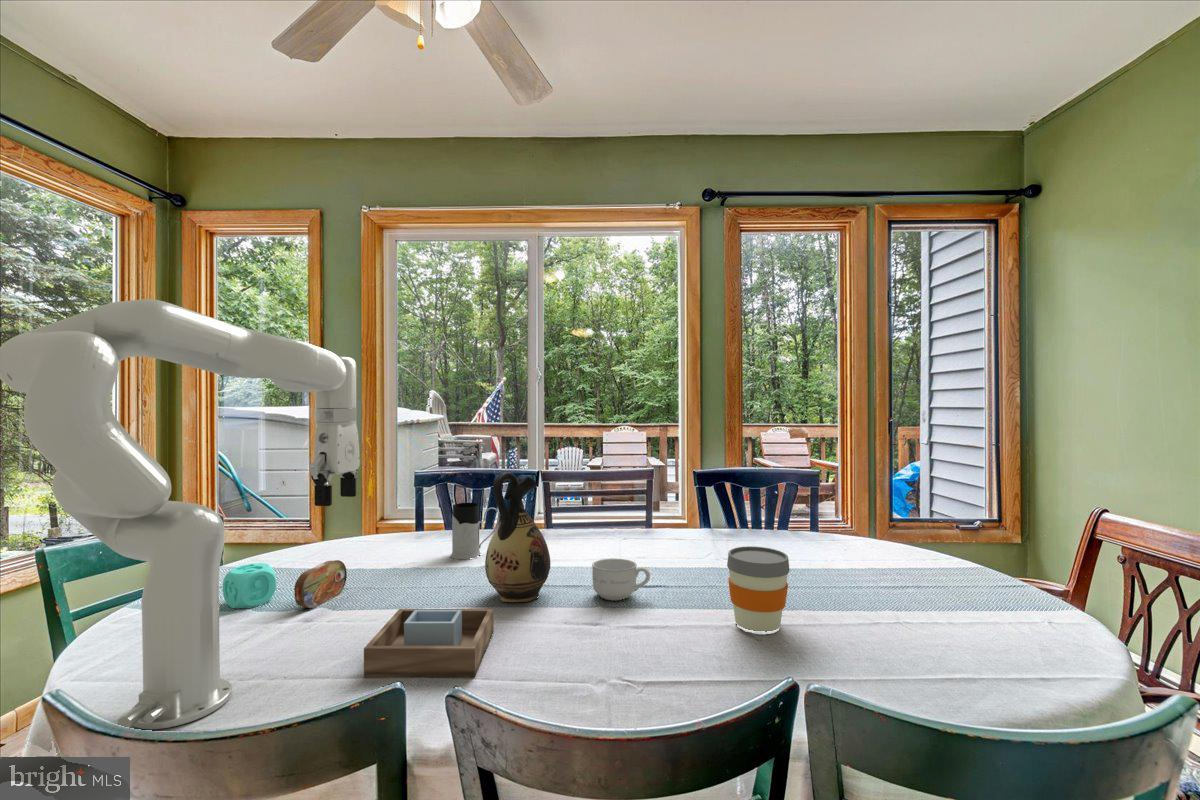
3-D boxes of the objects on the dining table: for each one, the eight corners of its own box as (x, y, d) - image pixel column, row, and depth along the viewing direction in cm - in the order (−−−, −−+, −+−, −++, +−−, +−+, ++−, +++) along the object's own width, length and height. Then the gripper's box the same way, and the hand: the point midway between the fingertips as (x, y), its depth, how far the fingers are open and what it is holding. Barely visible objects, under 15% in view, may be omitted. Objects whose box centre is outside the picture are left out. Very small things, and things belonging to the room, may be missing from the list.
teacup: (583, 599, 130) (583, 565, 129) (604, 585, 139) (604, 553, 139) (638, 610, 123) (638, 575, 123) (656, 594, 133) (656, 561, 132)
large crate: (474, 677, 94) (474, 648, 94) (363, 677, 94) (363, 648, 94) (493, 633, 111) (493, 608, 111) (399, 633, 111) (399, 608, 111)
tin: (303, 614, 121) (303, 576, 121) (291, 613, 122) (291, 575, 122) (348, 589, 136) (347, 555, 136) (336, 588, 136) (336, 555, 136)
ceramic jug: (519, 580, 142) (519, 464, 142) (563, 594, 133) (563, 470, 132) (465, 599, 129) (465, 472, 129) (509, 617, 120) (509, 479, 119)
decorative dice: (258, 593, 133) (258, 560, 133) (277, 600, 129) (276, 566, 129) (222, 604, 126) (221, 570, 126) (240, 612, 122) (240, 576, 122)
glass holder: (450, 552, 167) (450, 503, 167) (497, 548, 171) (497, 500, 171) (451, 561, 159) (451, 509, 158) (501, 556, 163) (501, 506, 163)
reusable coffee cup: (746, 642, 108) (746, 566, 107) (716, 617, 120) (716, 548, 119) (802, 635, 111) (802, 561, 111) (767, 611, 123) (767, 544, 123)
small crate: (453, 655, 100) (453, 623, 100) (404, 656, 100) (403, 623, 100) (461, 640, 106) (461, 609, 106) (415, 640, 106) (414, 609, 106)
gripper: (331, 419, 103) (331, 510, 104) (373, 415, 121) (373, 493, 121) (292, 418, 104) (293, 509, 104) (340, 415, 121) (340, 493, 121)
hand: (336, 500), depth 112 cm, fingers open, 9 cm apart
